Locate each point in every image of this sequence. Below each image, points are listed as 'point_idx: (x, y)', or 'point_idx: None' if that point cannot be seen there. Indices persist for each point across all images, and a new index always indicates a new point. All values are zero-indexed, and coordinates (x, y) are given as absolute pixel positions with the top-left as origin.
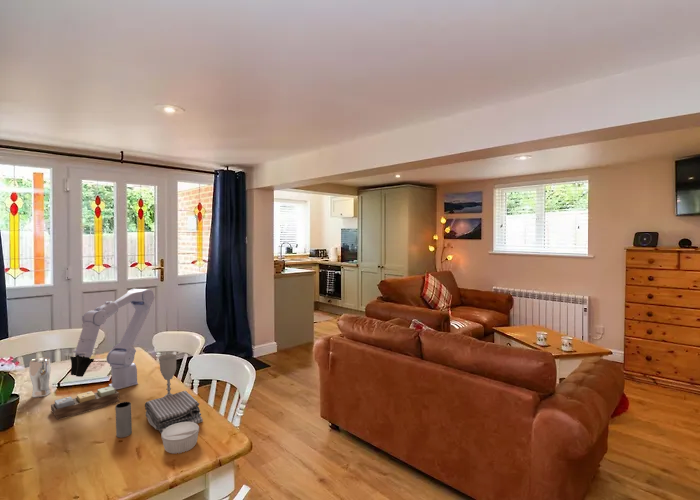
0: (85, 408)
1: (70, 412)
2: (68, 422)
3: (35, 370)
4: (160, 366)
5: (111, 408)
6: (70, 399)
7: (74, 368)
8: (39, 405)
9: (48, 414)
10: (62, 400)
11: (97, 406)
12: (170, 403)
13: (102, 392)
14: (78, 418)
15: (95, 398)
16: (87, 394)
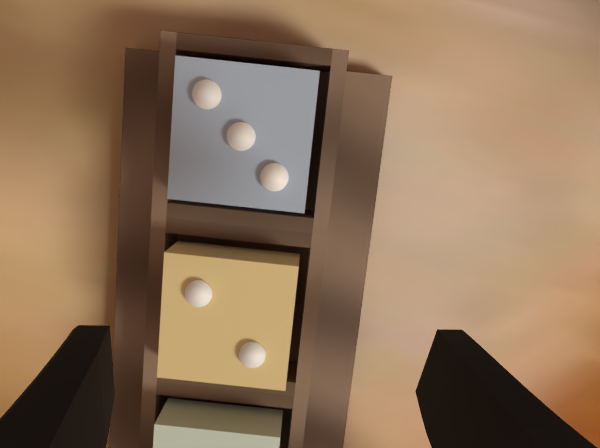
0: (133, 253)
1: (145, 147)
2: (17, 90)
3: None
4: None
5: None
6: (217, 186)
7: (483, 439)
8: (596, 41)
9: (315, 33)
10: (243, 122)
11: (116, 329)
12: None
13: (155, 436)
14: (37, 165)
15: None
16: (220, 334)
